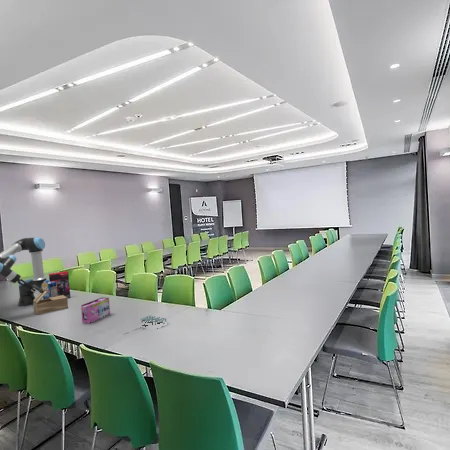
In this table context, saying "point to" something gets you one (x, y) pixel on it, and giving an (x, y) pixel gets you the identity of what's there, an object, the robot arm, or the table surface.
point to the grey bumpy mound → (152, 320)
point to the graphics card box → (61, 283)
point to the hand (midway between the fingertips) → (37, 292)
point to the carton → (50, 304)
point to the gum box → (95, 309)
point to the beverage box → (50, 289)
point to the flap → (41, 294)
